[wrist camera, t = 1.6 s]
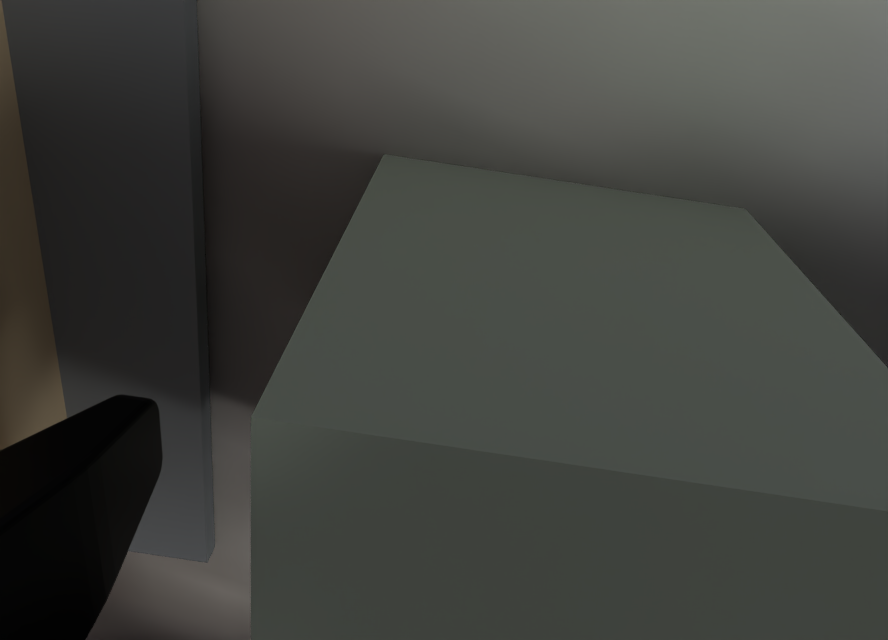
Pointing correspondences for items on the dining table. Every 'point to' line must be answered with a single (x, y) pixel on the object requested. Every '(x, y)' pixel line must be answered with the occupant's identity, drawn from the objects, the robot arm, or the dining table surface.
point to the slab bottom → (22, 286)
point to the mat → (124, 227)
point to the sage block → (566, 428)
